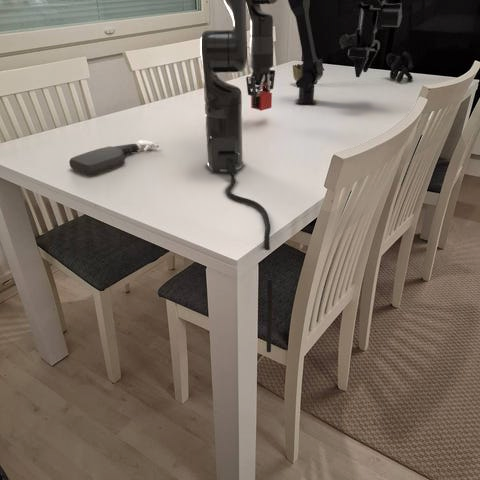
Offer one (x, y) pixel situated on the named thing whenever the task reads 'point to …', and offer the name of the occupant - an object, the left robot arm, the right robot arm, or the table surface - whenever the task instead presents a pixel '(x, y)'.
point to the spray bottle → (106, 157)
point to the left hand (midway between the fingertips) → (260, 105)
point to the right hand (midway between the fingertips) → (361, 74)
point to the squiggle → (399, 66)
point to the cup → (297, 71)
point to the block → (264, 100)
